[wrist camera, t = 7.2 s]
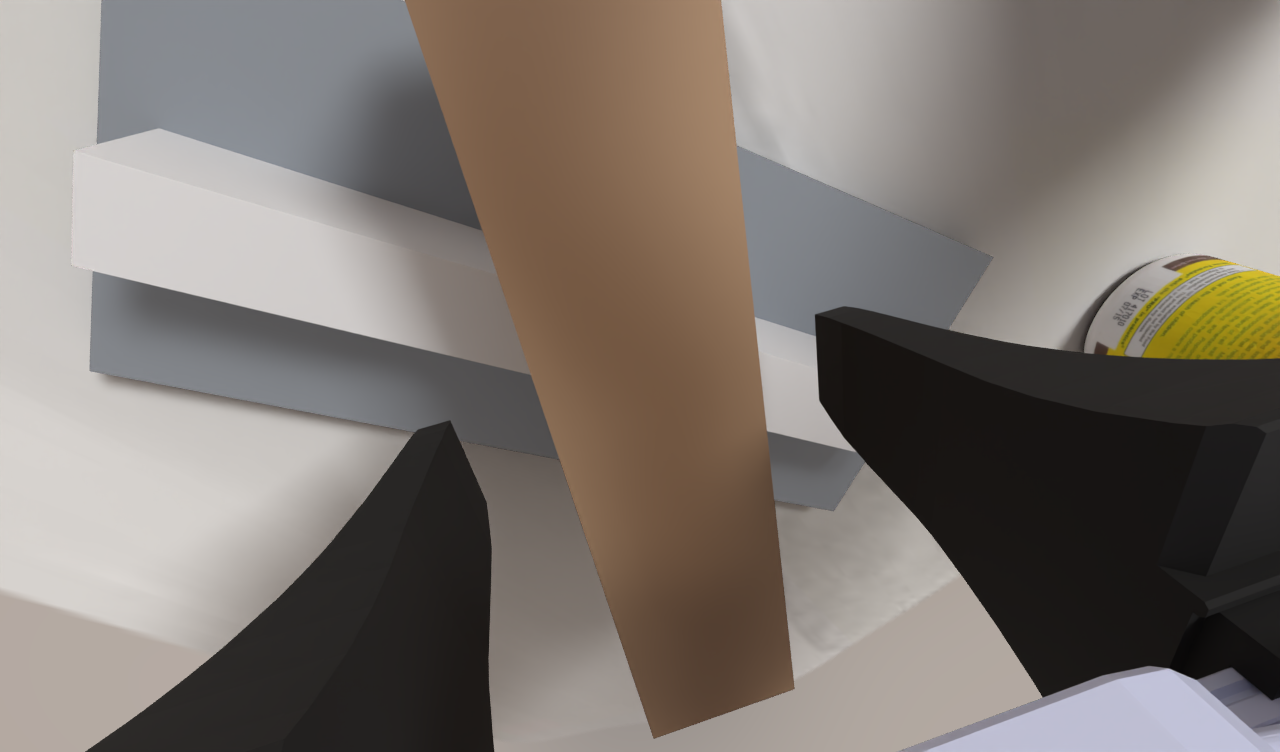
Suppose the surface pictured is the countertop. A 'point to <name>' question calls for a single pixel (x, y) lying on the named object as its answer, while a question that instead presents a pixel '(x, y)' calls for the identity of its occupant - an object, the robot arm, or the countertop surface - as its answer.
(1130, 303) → the supplement bottle
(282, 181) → the balance stand
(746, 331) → the walnut batten
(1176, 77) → the countertop surface
